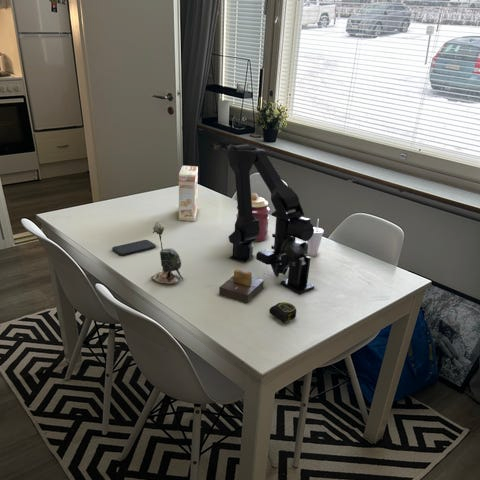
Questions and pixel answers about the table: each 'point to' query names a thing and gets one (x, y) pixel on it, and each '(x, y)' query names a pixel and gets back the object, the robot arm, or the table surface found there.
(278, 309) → the tape measure
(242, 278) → the thumb turn
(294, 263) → the handle bracket
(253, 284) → the plate
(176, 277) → the dried flower vase
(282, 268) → the door handle
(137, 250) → the phone
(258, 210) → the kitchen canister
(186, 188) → the coffeecake box
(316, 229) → the smoothie
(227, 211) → the table surface
